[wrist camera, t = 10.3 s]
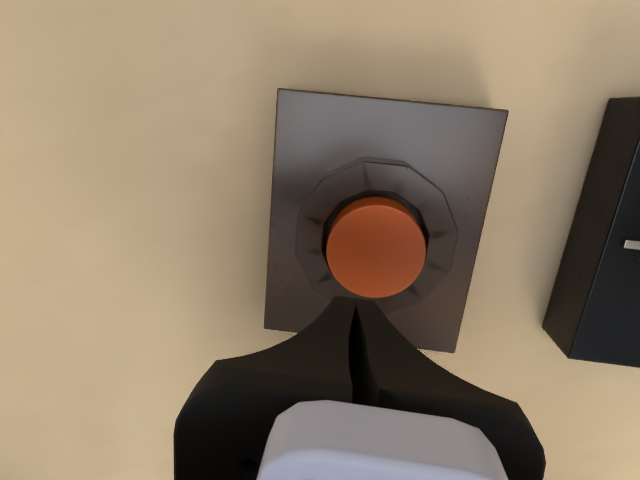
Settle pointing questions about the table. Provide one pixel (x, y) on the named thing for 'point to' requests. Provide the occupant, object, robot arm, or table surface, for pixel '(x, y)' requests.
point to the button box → (385, 181)
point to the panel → (604, 251)
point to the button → (375, 247)
